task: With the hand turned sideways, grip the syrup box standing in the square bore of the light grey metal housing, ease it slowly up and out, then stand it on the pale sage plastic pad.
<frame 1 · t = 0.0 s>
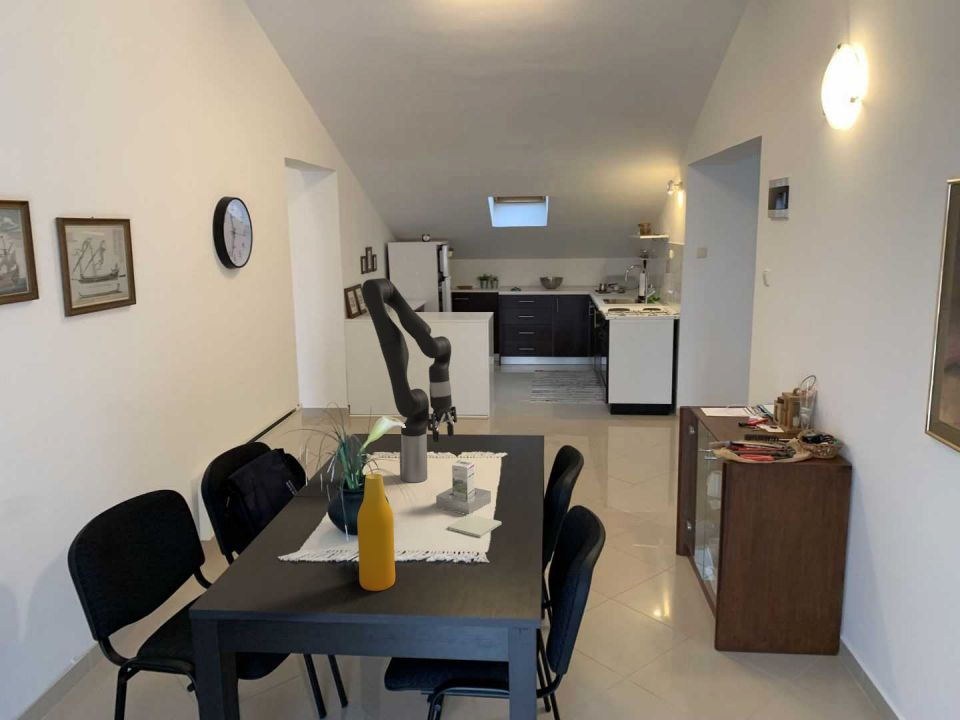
hand: (443, 438, 259), 17 cm above the table, tool pointing down, fingers open, 8 cm apart
beer bottle: (377, 583, 190), on the table
pad: (474, 526, 225), on the table
housing: (463, 504, 243), on the table
syrup box: (463, 505, 243), resting in housing
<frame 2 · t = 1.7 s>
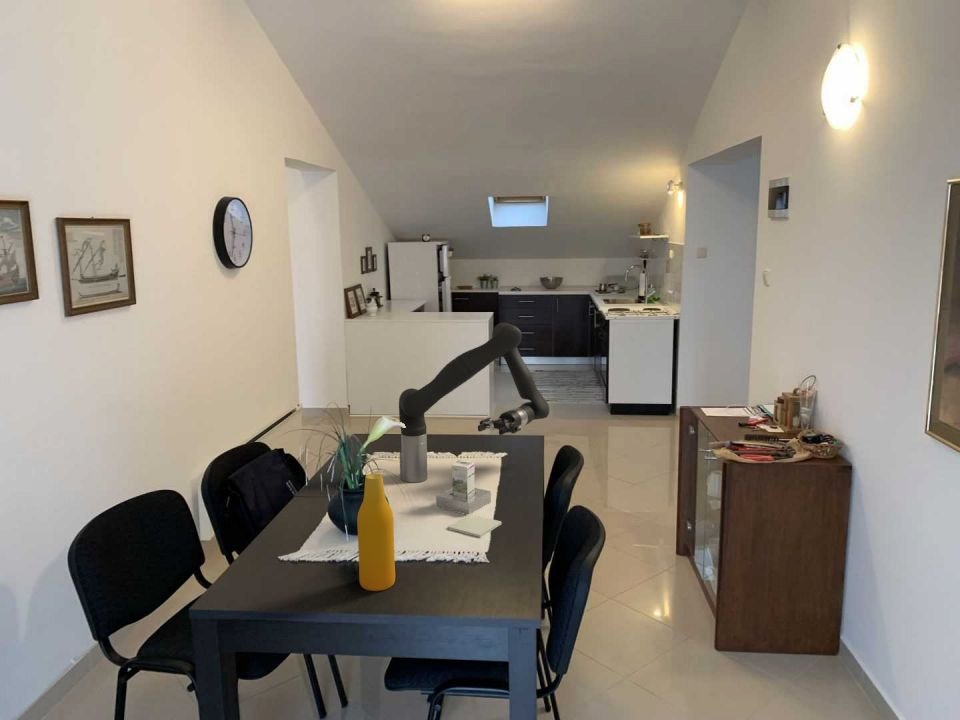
hand: (489, 430, 252), 22 cm above the table, tool horizontal, fingers open, 8 cm apart
nothing on the table moved.
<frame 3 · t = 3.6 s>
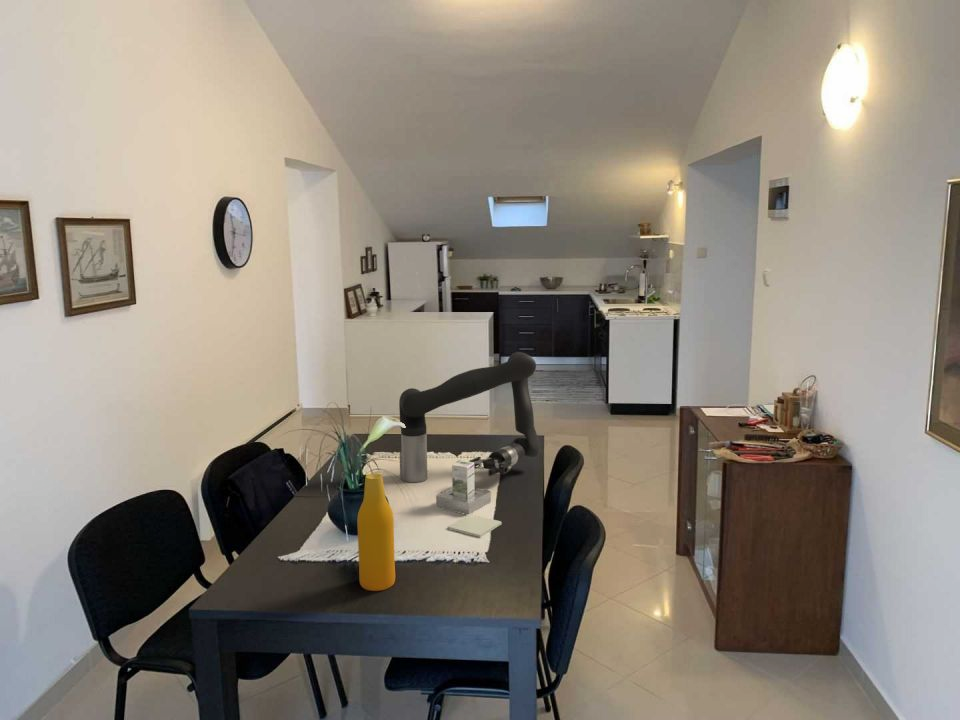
hand: (478, 471, 249), 9 cm above the table, tool horizontal, fingers open, 8 cm apart
nothing on the table moved.
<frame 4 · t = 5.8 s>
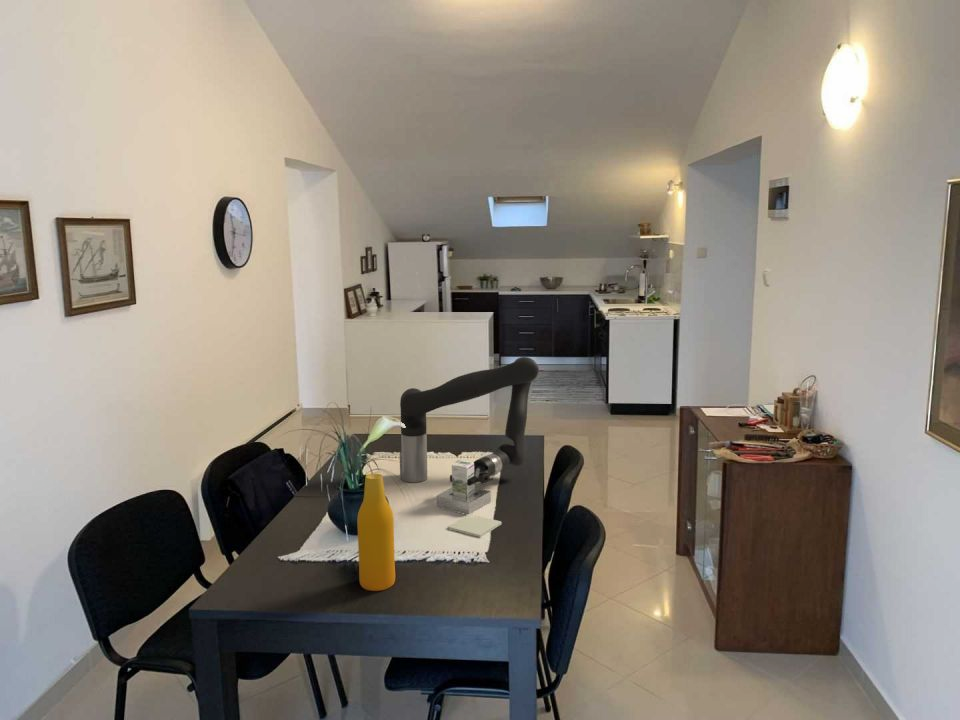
hand: (459, 480, 239), 9 cm above the table, tool horizontal, fingers closed on syrup box, 6 cm apart
syrup box: (463, 505, 243), resting in housing, touching gripper
everything else where it was.
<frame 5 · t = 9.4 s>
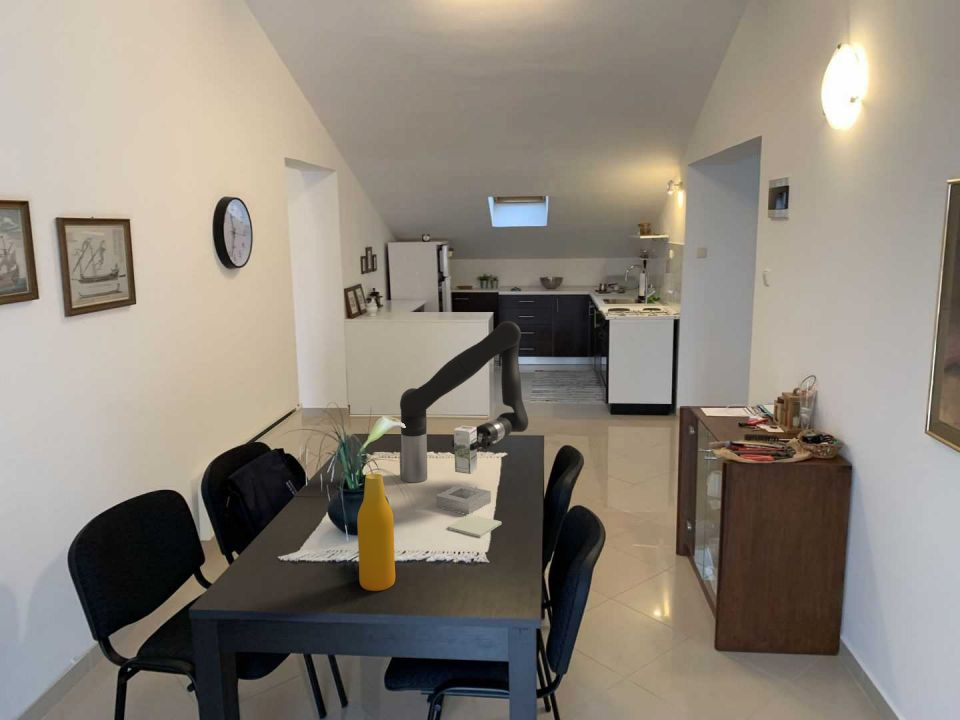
hand: (461, 446, 235), 22 cm above the table, tool horizontal, fingers closed on syrup box, 6 cm apart
syrup box: (466, 471, 238), point 12 cm above the table, touching gripper
everything else where it was.
when the fingers open (11 cm above the table, at t = 12.9 s): syrup box drops 1 cm, resting on pad.
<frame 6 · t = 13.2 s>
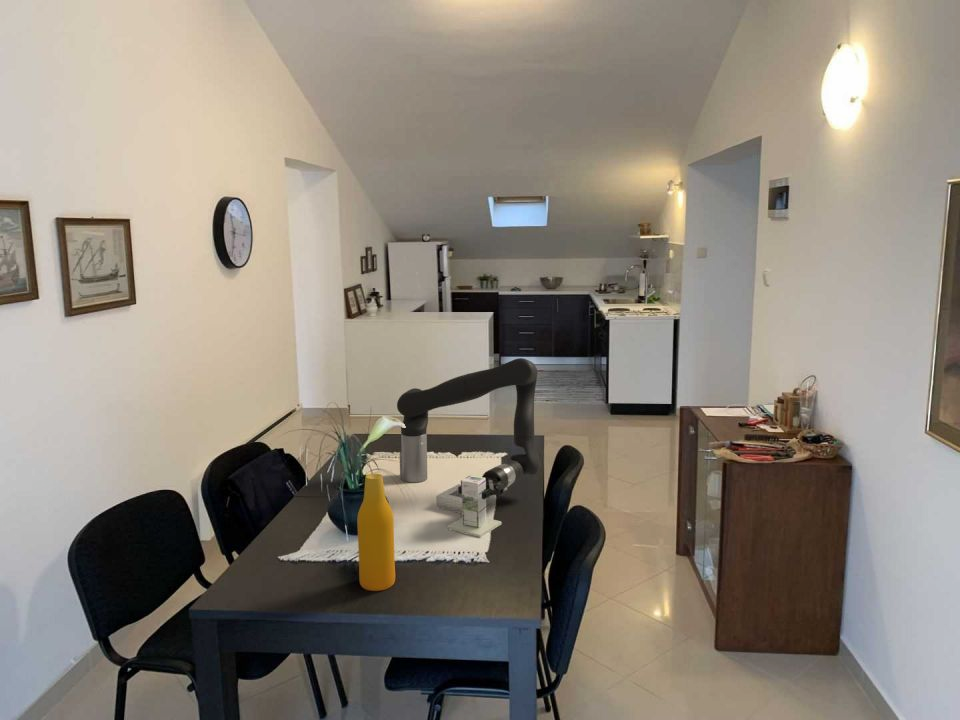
hand: (470, 493, 222), 11 cm above the table, tool horizontal, fingers open, 8 cm apart
syrup box: (474, 524, 225), point 1 cm above the table, touching pad
everything else where it was.
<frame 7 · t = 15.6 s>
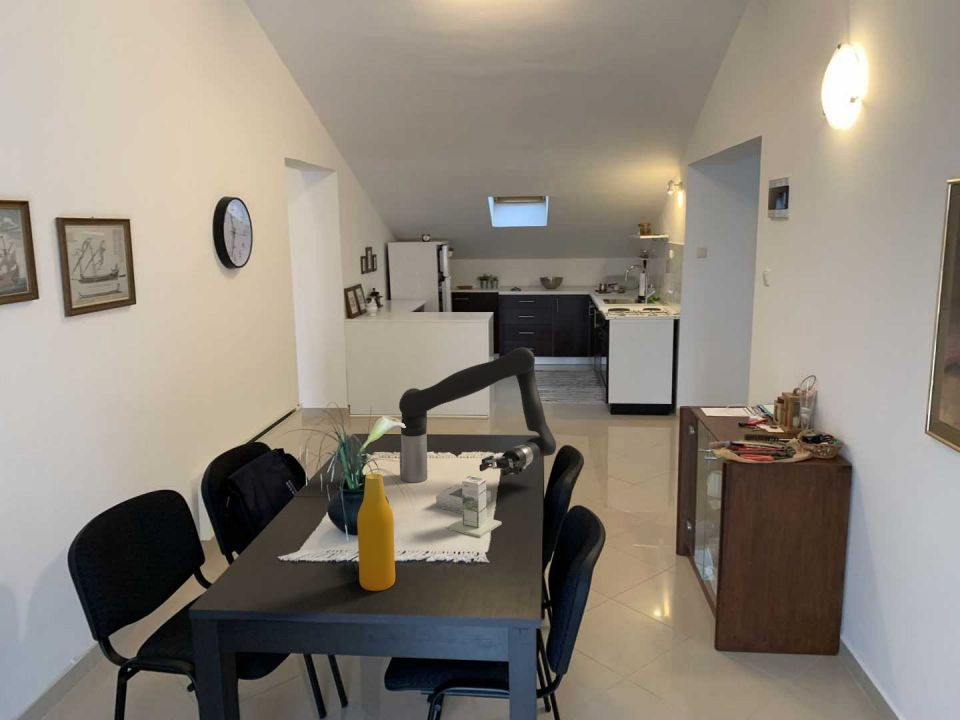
hand: (491, 470, 234), 14 cm above the table, tool horizontal, fingers open, 8 cm apart
nothing on the table moved.
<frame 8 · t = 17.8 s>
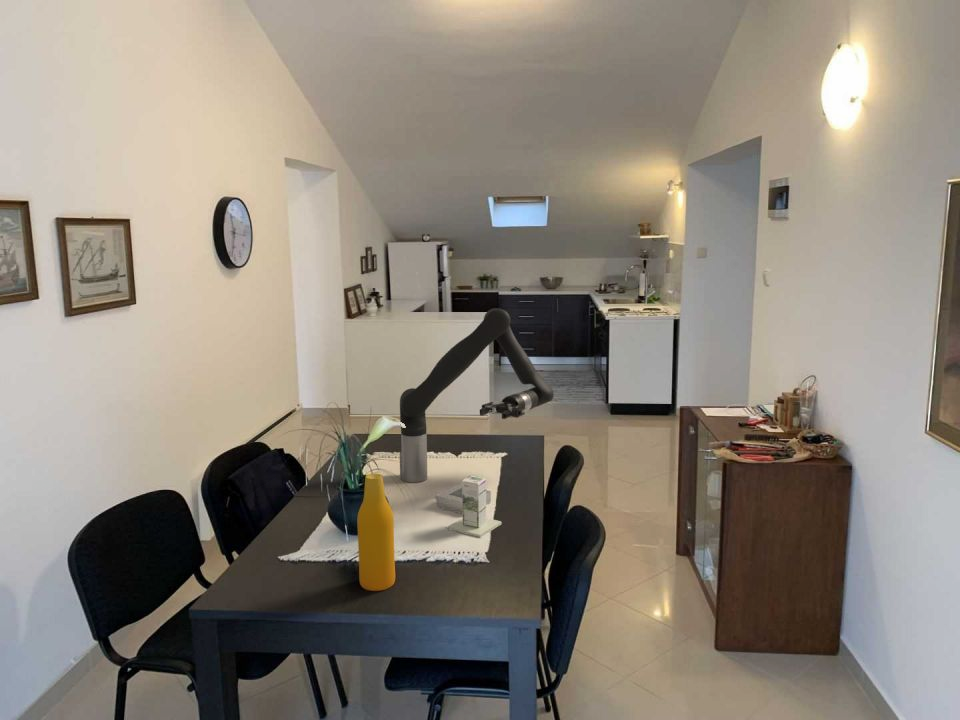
hand: (491, 414, 241), 30 cm above the table, tool horizontal, fingers open, 8 cm apart
nothing on the table moved.
at the end: syrup box inside the target area (0.3 cm from its centre), point 0.6 cm above the table; syrup box tilted 0°; the gripper is holding nothing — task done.
